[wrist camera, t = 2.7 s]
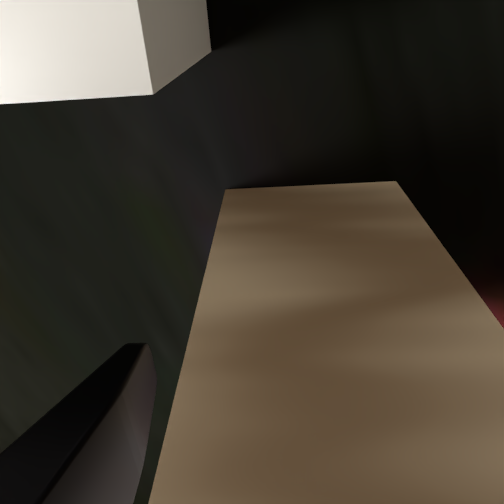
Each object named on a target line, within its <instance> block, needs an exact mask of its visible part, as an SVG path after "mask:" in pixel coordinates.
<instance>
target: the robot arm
mask: <svg viewBox="0 0 504 504" xmlns="http://www.w3.org/2000/svg"><path fill="white" fill-rule="evenodd" d="M156 386H157V375H156V370H155V366H154V362H153V358H152V354H151V350H150V347H149V345H148V344H146V343H128V344H125V345H124V346H122V347H121V348H120V349H119V350H118V351H117V352H116V353H114V354H113V355H112V356H111V357H110V358H109V359H108V360H107V361H105V362H104V363H103V364H102V365H101V366H100V367H99V368H97V369H96V370H95V371H94V372H93V373H92V374H91V375H89V376H88V377H87V378H86V379H85V380H84V381H83V382H81V383H80V384H79V385H78V386H77V387H76V388H75V389H74V390H72V391H71V392H70V393H69V394H68V395H67V396H66V397H64V398H63V399H62V400H61V401H60V402H59V403H58V404H56V405H55V406H54V407H53V408H52V409H51V410H50V411H48V412H47V413H46V414H45V415H44V416H43V417H42V418H40V419H39V420H38V421H37V422H36V423H35V424H34V425H33V426H31V427H30V428H29V429H28V430H27V431H26V432H25V433H23V434H22V435H21V436H20V437H19V438H18V439H17V440H15V441H14V442H13V443H12V444H11V445H10V446H9V447H7V448H6V449H5V450H4V451H3V452H2V453H1V454H0V504H133V501H134V498H135V494H136V491H137V487H138V483H139V480H140V476H141V472H142V468H143V464H144V459H145V453H146V448H147V442H148V435H149V429H150V423H151V417H152V411H153V405H154V399H155V393H156Z"/></svg>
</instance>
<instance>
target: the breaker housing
mask: <svg viewBox="0 0 504 504" xmlns="http://www.w3.org/2000/svg"><path fill="white" fill-rule="evenodd" d="M210 52H211V45H210V35H209V25H208V15H207V6H206V0H0V104H11V103H27V102H43V101H58V100H74V99H90V98H106V97H121V96H137V95H153V94H154V93H156V92H157V91H159V90H160V89H161V88H163V87H164V86H165V85H167V84H168V83H169V82H171V81H172V80H173V79H175V78H176V77H177V76H179V75H180V74H182V73H183V72H184V71H186V70H187V69H188V68H190V67H191V66H192V65H194V64H195V63H196V62H198V61H199V60H201V59H202V58H203V57H205V56H206V55H207V54H209V53H210Z"/></svg>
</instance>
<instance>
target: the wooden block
mask: <svg viewBox="0 0 504 504" xmlns="http://www.w3.org/2000/svg"><path fill="white" fill-rule="evenodd" d="M149 504H504V329H503V327H502V326H501V325H500V323H499V322H498V321H497V319H496V318H495V316H494V315H493V314H492V312H491V311H490V310H489V308H488V307H487V305H486V304H485V303H484V301H483V300H482V299H481V297H480V296H479V294H478V293H477V292H476V290H475V289H474V288H473V286H472V285H471V283H470V282H469V281H468V279H467V278H466V277H465V275H464V274H463V272H462V271H461V270H460V268H459V267H458V266H457V264H456V263H455V261H454V260H453V259H452V257H451V256H450V255H449V253H448V252H447V251H446V249H445V248H444V246H443V245H442V244H441V242H440V241H439V240H438V238H437V237H436V235H435V234H434V233H433V231H432V230H431V229H430V227H429V226H428V224H427V223H426V222H425V220H424V219H423V218H422V216H421V215H420V213H419V212H418V211H417V209H416V208H415V207H414V205H413V204H412V202H411V201H410V200H409V198H408V197H407V196H406V194H405V193H404V191H403V190H402V189H401V187H400V186H399V185H398V183H397V182H396V181H388V182H367V183H347V184H326V185H306V186H285V187H265V188H244V189H225V193H224V197H223V201H222V206H221V210H220V214H219V218H218V222H217V226H216V230H215V234H214V238H213V242H212V246H211V250H210V255H209V259H208V263H207V267H206V271H205V275H204V279H203V283H202V287H201V291H200V295H199V299H198V304H197V308H196V312H195V316H194V320H193V324H192V328H191V332H190V336H189V340H188V344H187V348H186V352H185V357H184V361H183V365H182V369H181V373H180V377H179V381H178V385H177V389H176V393H175V397H174V401H173V406H172V410H171V414H170V418H169V422H168V426H167V430H166V434H165V438H164V442H163V446H162V450H161V455H160V459H159V463H158V467H157V471H156V475H155V479H154V483H153V487H152V491H151V495H150V499H149Z"/></svg>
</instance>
